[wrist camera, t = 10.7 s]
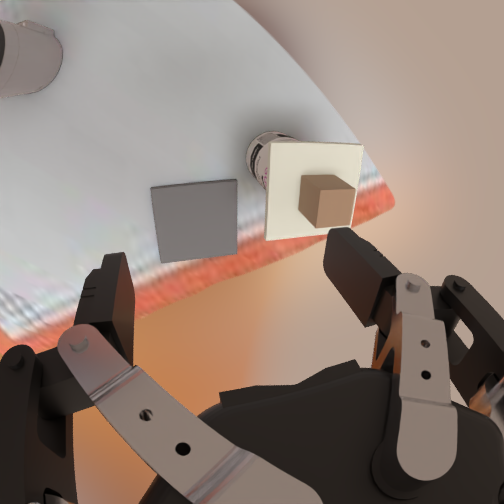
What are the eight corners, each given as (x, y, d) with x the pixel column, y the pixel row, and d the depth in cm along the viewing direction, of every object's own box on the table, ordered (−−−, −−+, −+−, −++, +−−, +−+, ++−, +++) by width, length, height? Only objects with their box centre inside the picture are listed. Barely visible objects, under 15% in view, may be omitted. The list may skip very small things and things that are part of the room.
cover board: (268, 141, 28) (287, 153, 24) (359, 143, 31) (388, 156, 27) (264, 237, 34) (279, 263, 30) (346, 228, 37) (369, 250, 32)
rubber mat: (150, 187, 42) (150, 189, 42) (235, 179, 45) (237, 181, 45) (161, 260, 49) (161, 263, 49) (235, 250, 52) (237, 253, 51)
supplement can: (304, 153, 46) (355, 184, 34) (270, 190, 48) (309, 234, 36) (270, 119, 42) (315, 138, 29) (233, 159, 44) (263, 195, 31)
